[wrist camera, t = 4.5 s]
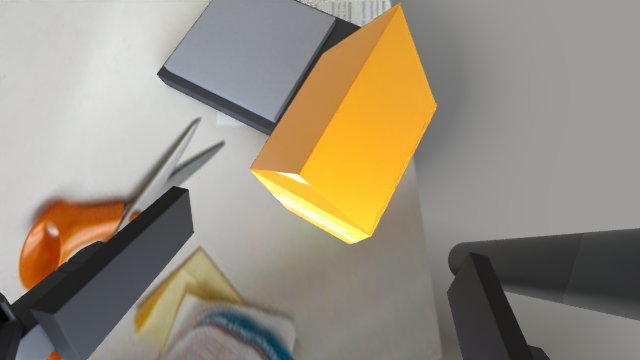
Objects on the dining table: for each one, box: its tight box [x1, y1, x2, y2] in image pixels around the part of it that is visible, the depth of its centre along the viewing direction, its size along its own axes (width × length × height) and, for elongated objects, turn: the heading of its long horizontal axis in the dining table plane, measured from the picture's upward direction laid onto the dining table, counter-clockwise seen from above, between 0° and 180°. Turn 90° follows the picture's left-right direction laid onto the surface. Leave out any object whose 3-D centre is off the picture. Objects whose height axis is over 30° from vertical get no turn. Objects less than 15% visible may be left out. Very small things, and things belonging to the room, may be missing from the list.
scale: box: [157, 0, 362, 136], centre depth 33 cm, size 18×16×3 cm
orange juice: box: [250, 2, 437, 244], centre depth 21 cm, size 8×9×20 cm
